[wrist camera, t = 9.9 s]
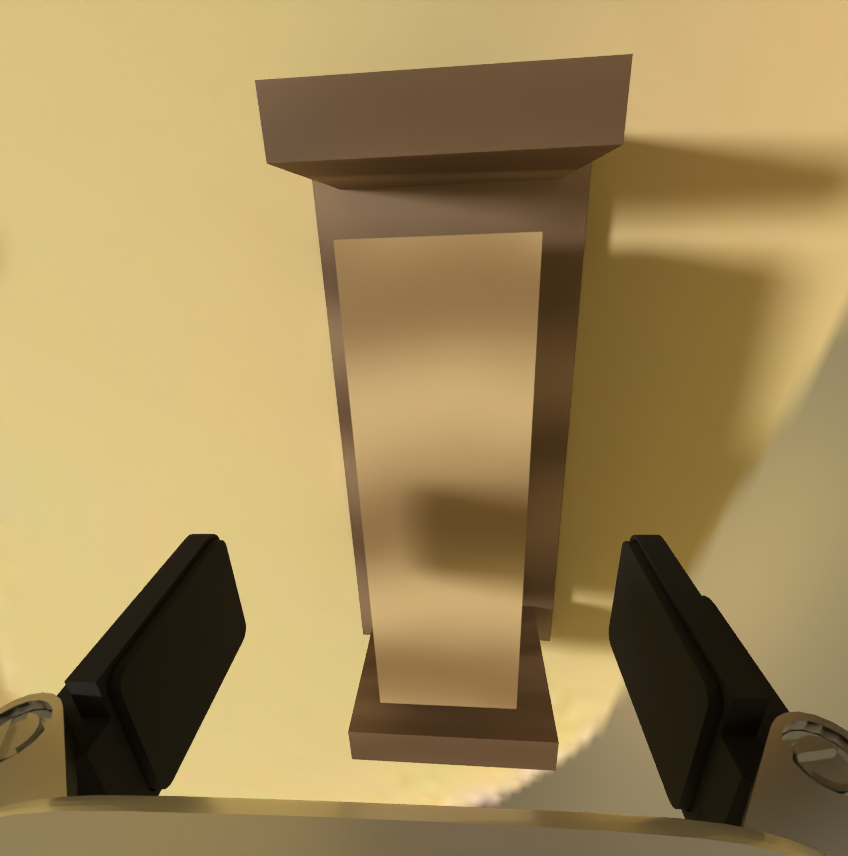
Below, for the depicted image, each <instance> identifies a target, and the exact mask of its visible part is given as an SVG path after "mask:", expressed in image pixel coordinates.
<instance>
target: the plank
mask: <svg viewBox="0 0 848 856" xmlns="http://www.w3.org/2000/svg"><path fill="white" fill-rule="evenodd" d="M542 234H543V232H514V233H488V234H463V235H437V236H411V237H386V238H361V239H340V240H333V241H334V251H335V261H336V271H337V281H338V291H339V301H340V310H341V320H342V330H343V340H344V350H345V360H346V370H347V379H348V389H349V399H350V409H351V419H352V429H353V438H354V448H355V458H356V468H357V478H358V488H359V498H360V507H361V517H362V527H363V537H364V547H365V557H366V567H367V576H368V586H369V596H370V606H371V616H372V626H373V636H374V645H375V655H376V665H377V675H378V685H379V695H380V703H398V704H420V705H442V706H463V707H485V708H507V709H516V708H517V690H518V672H519V653H520V635H521V617H522V599H523V581H524V562H525V544H526V526H527V508H528V489H529V471H530V453H531V435H532V417H533V398H534V380H535V362H536V344H537V325H538V307H539V289H540V271H541V253H542Z"/></svg>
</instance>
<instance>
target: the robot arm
mask: <svg viewBox="0 0 848 856" xmlns="http://www.w3.org/2000/svg"><path fill="white" fill-rule="evenodd" d="M245 632H246V623H245V619H244V615H243V611H242V607H241V603H240V599H239V594H238V590H237V586H236V582H235V578H234V574H233V570H232V566H231V562H230V558H229V554H228V550H227V546H226V543H225V542H224V541H223V540H219V537H218V536H217V535H215V534H191V535H189V536H188V537H187V538H186V539H185V540H184V541H183V542H182V543H181V545H180V546H179V547H178V548H177V549H176V551H175V552H174V553H173V554H172V555H171V556H170V558H169V559H168V560H167V561H166V562H165V564H164V565H163V566H162V567H161V568H160V569H159V571H158V572H157V573H156V574H155V575H154V576H153V578H152V579H151V580H150V581H149V582H148V584H147V585H146V586H145V587H144V588H143V589H142V591H141V592H140V593H139V594H138V595H137V597H136V598H135V599H134V600H133V601H132V602H131V604H130V605H129V606H128V607H127V608H126V610H125V611H124V612H123V613H122V614H121V615H120V617H119V618H118V619H117V620H116V621H115V623H114V624H113V625H112V626H111V627H110V628H109V630H108V631H107V632H106V633H105V634H104V636H103V637H102V638H101V639H100V640H99V641H98V643H97V644H96V645H95V646H94V647H93V648H92V650H91V651H90V652H89V653H88V654H87V656H86V657H85V658H84V659H83V660H82V661H81V663H80V664H79V665H78V666H77V667H76V669H75V670H74V671H73V672H72V673H71V674H70V676H69V677H68V678H67V679H66V680H65V684H66V685H65V687H64V688H63V689H62V690H61V691H60V693H59V694H58V695H57V696H56V695H54V694H51V693H37V694H31V695H27V696H25V697H22V698H19V699H16V700H14V701H12V702H10V703H8V704H6V705H5V706H3V707H1V708H0V856H848V731H847V730H845V729H843V728H842V727H840V726H838V725H837V724H835V723H833V722H831V721H829V720H826V719H824V718H821V717H819V716H816V715H813V714H808V713H803V712H789V711H788V709H787V708H786V707H785V705H784V704H783V702H782V701H781V699H780V698H779V697H778V695H777V694H776V692H775V691H774V689H773V688H772V686H771V685H770V683H769V682H768V681H767V679H766V678H765V676H764V675H763V673H762V672H761V670H760V669H759V668H758V666H757V665H756V663H755V662H754V660H753V659H752V657H751V656H750V654H749V653H748V652H747V650H746V649H745V647H744V646H743V645H742V643H741V642H740V640H739V639H738V637H737V636H736V634H735V633H734V632H733V630H732V628H731V627H730V626H729V624H728V623H727V621H726V620H725V618H724V617H723V615H722V614H721V613H720V611H719V610H718V608H717V607H716V605H715V604H714V603H713V602H712V601H711V600H710V599H709V598H708V597H706V596H701V594H700V593H699V591H698V590H697V588H696V587H695V585H694V584H693V582H692V581H691V579H690V578H689V576H688V575H687V573H686V572H685V570H684V569H683V567H682V566H681V564H680V563H679V561H678V560H677V558H676V557H675V555H674V554H673V552H672V551H671V550H670V548H669V547H668V545H667V544H666V542H665V541H664V539H663V538H662V537H661V536H660V535H633V536H632V537H631V538H630V541H625V542H623V544H622V549H621V556H620V562H619V568H618V575H617V581H616V587H615V594H614V600H613V606H612V613H611V619H610V625H609V640H610V644H611V647H612V650H613V653H614V655H615V658H616V661H617V663H618V666H619V669H620V671H621V674H622V677H623V679H624V682H625V685H626V687H627V690H628V693H629V695H630V698H631V700H632V703H633V706H634V708H635V711H636V714H637V716H638V719H639V721H640V724H641V727H642V730H643V732H644V735H645V737H646V740H647V743H648V745H649V748H650V751H651V754H652V756H653V759H654V761H655V764H656V767H657V770H658V772H659V775H660V777H661V780H662V783H663V785H664V788H665V791H666V793H667V796H668V799H669V801H670V803H671V805H672V806H673V807H674V808H675V809H682V812H683V814H684V817H685V819H679V818H665V817H649V816H634V815H619V814H602V813H588V812H566V811H565V812H564V811H543V810H521V809H500V808H478V807H456V806H431V805H406V804H382V803H356V802H330V801H304V800H275V799H245V798H215V797H185V796H158V795H159V793H160V792H161V790H162V789H166V788H167V787H168V786H169V785H170V784H171V783H172V781H173V779H174V777H175V775H176V773H177V771H178V769H179V767H180V765H181V763H182V761H183V759H184V757H185V755H186V753H187V751H188V749H189V747H190V745H191V743H192V741H193V739H194V737H195V735H196V733H197V731H198V729H199V727H200V725H201V723H202V721H203V719H204V717H205V715H206V714H207V712H208V710H209V708H210V706H211V704H212V702H213V700H214V698H215V696H216V694H217V692H218V690H219V688H220V686H221V684H222V682H223V680H224V678H225V676H226V674H227V672H228V670H229V668H230V666H231V664H232V662H233V660H234V658H235V656H236V654H237V652H238V650H239V648H240V646H241V644H242V642H243V639H244V637H245Z"/></svg>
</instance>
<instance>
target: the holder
mask: <svg viewBox="0 0 848 856" xmlns="http://www.w3.org/2000/svg"><path fill="white" fill-rule="evenodd" d="M632 55H633V54H627V55H613V56H598V57H584V58H569V59H555V60H541V61H526V62H512V63H497V64H483V65H469V66H454V67H440V68H426V69H411V70H397V71H382V72H368V73H354V74H339V75H325V76H311V77H296V78H282V79H267V80H255V84H256V91H257V98H258V105H259V112H260V119H261V126H262V133H263V140H264V147H265V154H266V161H267V164H270V165H273V166H275V167H278V168H281V169H284V170H287V171H289V172H292V173H295V174H298V175H301V176H303V177H306V178H309V179H312V182H313V191H314V200H315V209H316V218H317V227H318V236H319V245H320V254H321V263H322V271H323V280H324V289H325V298H326V307H327V316H328V325H329V334H330V343H331V351H332V360H333V369H334V378H335V387H336V396H337V405H338V414H339V423H340V432H341V440H342V449H343V458H344V467H345V476H346V485H347V494H348V503H349V512H350V521H351V529H352V538H353V547H354V556H355V565H356V574H357V583H358V592H359V601H360V609H361V618H362V627H363V634H365V635H371V636H370V640H369V644H368V649H367V653H366V657H365V662H364V666H363V670H362V675H361V679H360V683H359V688H358V692H357V696H356V701H355V705H354V709H353V714H352V718H351V722H350V727H349V731H348V733H349V740H350V747H351V754H352V759H360V760H378V761H396V762H413V763H431V764H449V765H466V766H484V767H502V768H519V769H537V770H556V762H557V753H558V744H559V742H558V737H557V732H556V726H555V721H554V715H553V710H552V705H551V699H550V694H549V689H548V683H547V678H546V673H545V667H544V662H543V657H542V651H541V646H540V641H539V640H543V641H550V636H551V624H552V613H553V601H554V590H555V578H556V566H557V555H558V543H559V532H560V520H561V509H562V497H563V486H564V474H565V463H566V451H567V439H568V428H569V416H570V405H571V393H572V382H573V370H574V359H575V347H576V336H577V324H578V312H579V301H580V289H581V278H582V266H583V255H584V243H585V232H586V220H587V209H588V197H589V185H590V174H591V162H592V161H594V160H596V159H598V158H599V157H601V156H603V155H605V154H606V153H608V152H610V151H612V150H614V149H615V148H617V147H619V146H621V145H623V139H624V130H625V121H626V111H627V102H628V93H629V83H630V74H631V65H632ZM514 232H543V234H542V253H541V271H540V289H539V307H538V325H537V344H536V362H535V380H534V398H533V417H532V435H531V453H530V471H529V489H528V508H527V526H526V544H525V562H524V581H523V599H522V617H521V635H520V653H519V672H518V690H517V708H516V709H507V708H485V707H463V706H442V705H420V704H398V703H380V695H379V685H378V675H377V665H376V655H375V645H374V636H373V626H372V616H371V606H370V596H369V586H368V576H367V567H366V557H365V547H364V537H363V527H362V517H361V507H360V498H359V488H358V478H357V468H356V458H355V448H354V438H353V429H352V419H351V409H350V399H349V389H348V379H347V370H346V360H345V350H344V340H343V330H342V320H341V310H340V301H339V291H338V281H337V271H336V261H335V251H334V241H333V240H340V239H361V238H386V237H411V236H437V235H463V234H488V233H514Z"/></svg>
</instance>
